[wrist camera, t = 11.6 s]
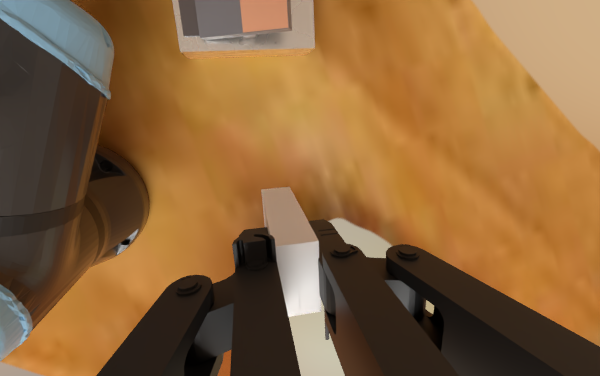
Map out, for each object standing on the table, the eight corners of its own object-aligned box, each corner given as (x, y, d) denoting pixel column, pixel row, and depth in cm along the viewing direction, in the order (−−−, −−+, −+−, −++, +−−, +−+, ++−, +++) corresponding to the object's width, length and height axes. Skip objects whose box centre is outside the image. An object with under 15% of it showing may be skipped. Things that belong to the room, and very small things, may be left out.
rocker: (210, 41, 31) (199, 37, 29) (205, -2, 30) (193, -10, 28) (294, 32, 29) (288, 27, 27) (292, -15, 28) (285, -24, 26)
